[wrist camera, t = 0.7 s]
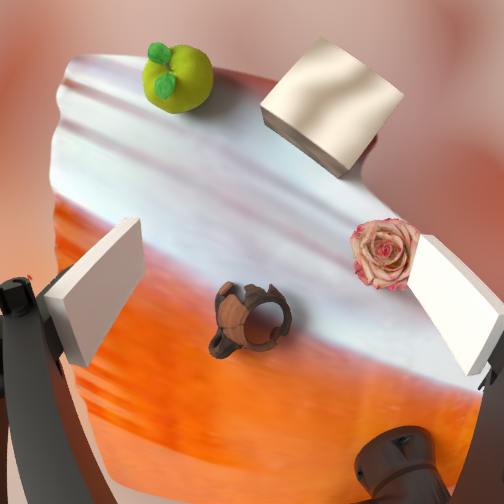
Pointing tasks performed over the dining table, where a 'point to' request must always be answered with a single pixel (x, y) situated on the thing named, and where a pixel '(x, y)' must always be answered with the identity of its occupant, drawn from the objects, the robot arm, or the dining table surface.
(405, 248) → the flower
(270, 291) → the pottery mug
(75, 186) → the dining table surface
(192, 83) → the fruit
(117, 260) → the robot arm
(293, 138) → the pedestal
